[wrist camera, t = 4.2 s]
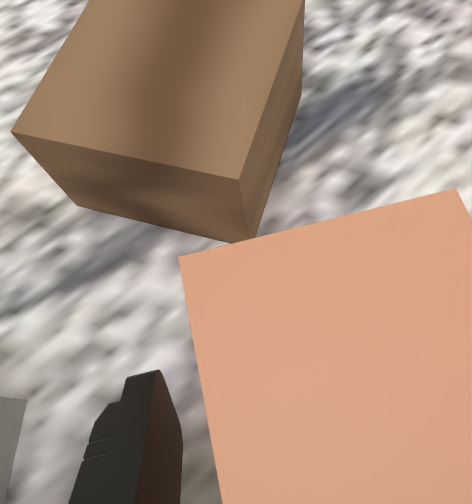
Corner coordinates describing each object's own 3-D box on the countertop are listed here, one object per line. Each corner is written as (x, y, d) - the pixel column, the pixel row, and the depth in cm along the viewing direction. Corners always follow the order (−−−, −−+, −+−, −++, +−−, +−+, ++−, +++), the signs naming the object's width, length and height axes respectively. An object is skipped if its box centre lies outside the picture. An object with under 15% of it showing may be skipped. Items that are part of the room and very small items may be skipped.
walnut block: (76, 205, 19) (10, 131, 15) (144, 69, 22) (107, -29, 17) (251, 248, 17) (238, 179, 13) (301, 94, 20) (305, -7, 16)
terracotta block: (268, 506, 14) (239, 601, 6) (234, 351, 16) (177, 257, 8) (422, 469, 14) (619, 511, 6) (368, 319, 16) (456, 188, 8)
